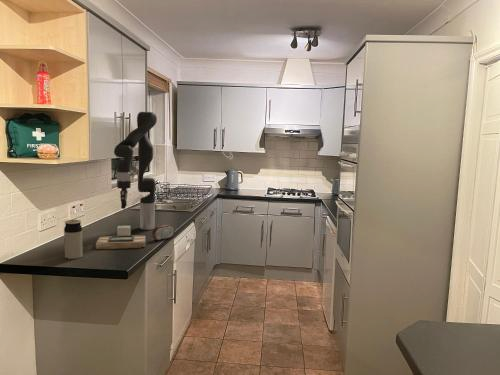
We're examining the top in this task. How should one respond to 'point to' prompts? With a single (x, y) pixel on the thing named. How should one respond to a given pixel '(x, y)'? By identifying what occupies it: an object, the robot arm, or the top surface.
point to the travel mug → (73, 239)
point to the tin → (163, 232)
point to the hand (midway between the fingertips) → (124, 207)
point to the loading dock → (120, 242)
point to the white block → (123, 230)
